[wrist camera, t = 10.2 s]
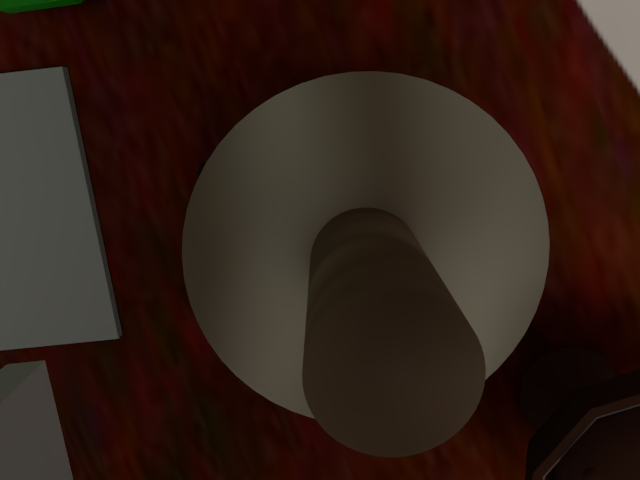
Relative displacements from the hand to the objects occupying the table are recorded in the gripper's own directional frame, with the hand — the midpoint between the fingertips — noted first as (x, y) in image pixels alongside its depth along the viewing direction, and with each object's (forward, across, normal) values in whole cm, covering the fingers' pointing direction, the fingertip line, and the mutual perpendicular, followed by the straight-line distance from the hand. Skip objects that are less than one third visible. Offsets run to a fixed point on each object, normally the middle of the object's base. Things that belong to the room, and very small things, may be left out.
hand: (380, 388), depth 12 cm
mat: (+19, +19, -1) cm, 27 cm away
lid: (+9, 0, 0) cm, 9 cm away
